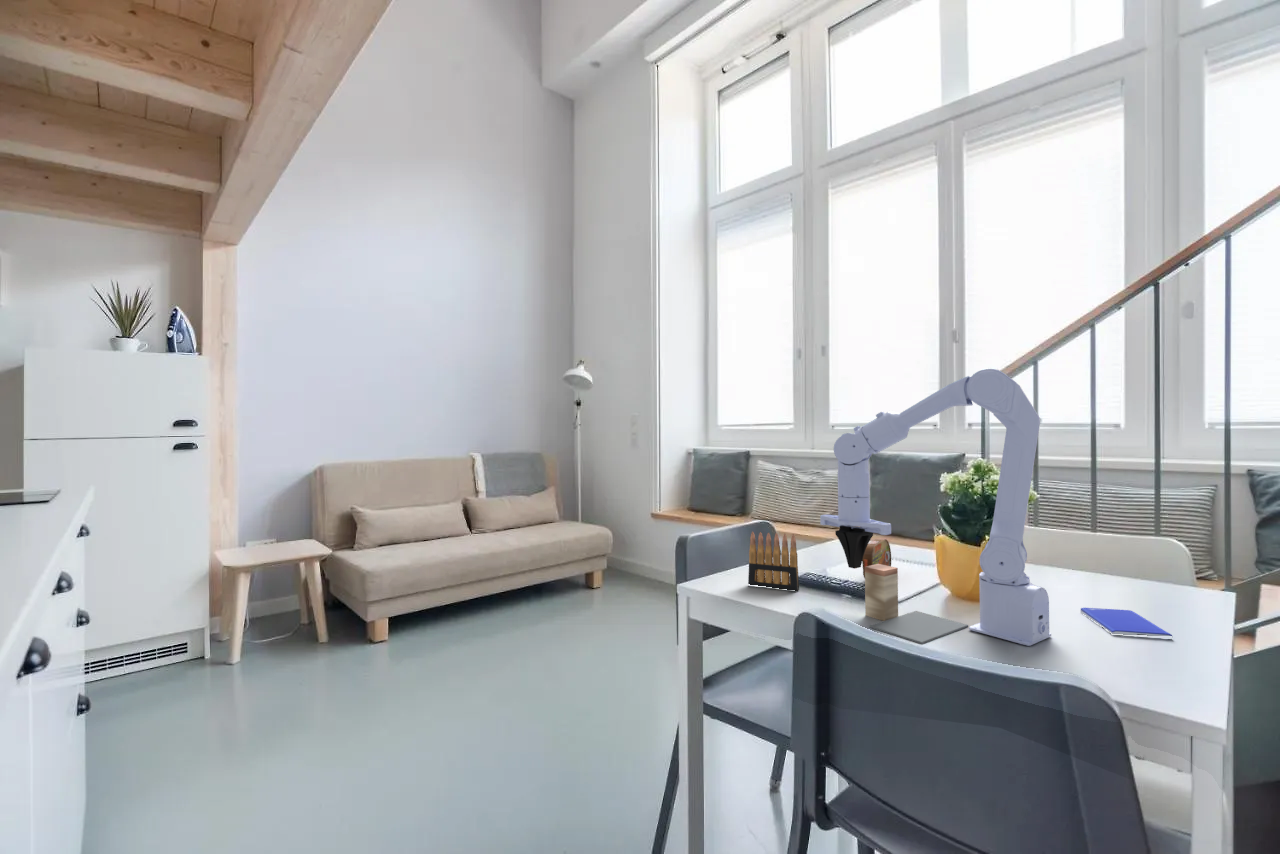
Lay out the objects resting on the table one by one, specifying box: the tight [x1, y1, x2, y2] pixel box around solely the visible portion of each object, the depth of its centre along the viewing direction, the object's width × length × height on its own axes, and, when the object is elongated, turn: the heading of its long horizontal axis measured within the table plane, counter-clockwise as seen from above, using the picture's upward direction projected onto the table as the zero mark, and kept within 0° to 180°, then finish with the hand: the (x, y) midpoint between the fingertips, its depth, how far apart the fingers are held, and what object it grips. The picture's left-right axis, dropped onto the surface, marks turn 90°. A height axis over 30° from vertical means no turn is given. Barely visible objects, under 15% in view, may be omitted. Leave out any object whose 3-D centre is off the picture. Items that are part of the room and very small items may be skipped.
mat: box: [869, 610, 969, 645], centre depth 103 cm, size 10×14×1 cm
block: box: [864, 564, 899, 622], centre depth 109 cm, size 4×4×9 cm
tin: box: [861, 538, 892, 579], centre depth 136 cm, size 15×3×8 cm, turn 143°
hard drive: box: [1080, 607, 1173, 637], centre depth 102 cm, size 2×8×12 cm
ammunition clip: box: [747, 531, 800, 592], centre depth 129 cm, size 11×2×12 cm, turn 65°
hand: (854, 567), depth 114 cm, fingers closed
